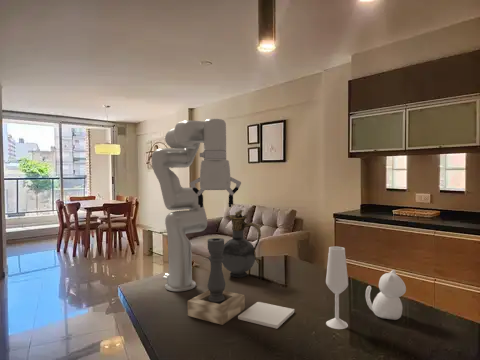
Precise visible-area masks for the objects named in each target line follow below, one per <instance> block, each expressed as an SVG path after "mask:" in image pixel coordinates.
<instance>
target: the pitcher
mask: <svg viewBox="0 0 480 360" xmlns="http://www.w3.org/2000/svg"><path fill="white" fill-rule="evenodd" d="M243 212H244V210H243V209H240V210H239V211H235V213H234V214H230V215H226V216H225V218H229V219H230V220H231V224H232V227H231V230H232V238H231V239H229V240H228V241H226V242H224V251H223V253H222V256H223V257H224V259H223V260H222V266H223V267H224V268H225V269H226V271H229V272H230V273H229V276H230V277H232V278H238V279H239V278H241V279H242V278H245V277H247V275H248V273H247V272H248V271H249V270H251V268H252V267H253V266H254V263H255V262H256V263H257V264H259V263H260V262H259V259H258V258H257V256H256V255H257V254H256V250H257V247H258V245H259V243H260V239H261V236H262V232H261V228H260V226H259V225H258V224H257V223H255V222H249V223H247V222H246V221H245V220H246V219H247V218H248V216H249V214H244V215H242V213H243ZM249 227H253V228H255V229H256V230H257V241H256V243H255V246H254V245H253V243H252V242H250V241H249V240H247V239H246V238H245V237H244V230H245V228H249Z"/></svg>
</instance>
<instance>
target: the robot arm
mask: <svg viewBox="0 0 480 360" xmlns="http://www.w3.org/2000/svg"><path fill="white" fill-rule="evenodd" d="M164 137H165V138H164V140H165V144H166V145H167V146H168V147H170V148H168V147H166V148H165V147H164V148H157V149H156V150H154V151H152V154H151V166H152V170H153V173H154V175H155V176H156V178H157V181H158V182H159V185H160V186H159V187H160V191H161V195H162V200H163V203H164V206H165V208H166V209H167V210H168V211H171V212H170V213H168V214H167V215H166V216H165V220H164V221H165V223H164V225H165V228H166V229H165V231H166V234H167V250H168V253H167V255H168V257H167V258H168V273H167V272H166V273H165V274H164V276H162V280H165V281H166V282H165V284H164V288H165V289H166V290H168V291H170V292H186V291H191V290H193V289H194V288H196V285H197V284H196V281H195V280H193V275H192V274H193V273H192V271H193V268H192V266H193V265H192V263H193V261H192V259H193V258H192V243H191V240H190V239H189V238H188V237H187V236H186V234H187V235H188V234H192V233H200V232H204V231H205V229H207V226H208V217H207V214H206V209H205V207H204V195H203V193H204V192H205V191H227V193H228V194H229V195H228V208H232V206H233V205H234V195H235V194H236V193H237V192H238V190H239V188H241V187H240V186H241V185H242V182H241V181H239V180H238V179H236V178H234V177H232V176H231V167H230V161H229V160H228V159H227V123H226V121H225V120H224V119H222V118H207V119H206V120H204V121H203V120H182V121H179V122H177V123H176V125H175V126H174V128H172V129H169V130H168V131H167V132H166V134H165V136H164ZM201 144H203V152H199V158H203V159H204V160H201V162H200V170H199V172H200V173H199V177H197V178H196V179H194V180H192V181H190V183H189V186H190V187H183V186H182V185H181V181H180V179H179V177H178V176H177V174H176V173H175V172H174V171H172V170H171V169H176V168H177V169H178V168H179V169H180V168H182V169H183V168H189V167H190V166H192V164H193V162H194V160H195V158H196V155H197V153H198V151H199V149H200V146H201ZM231 182H232V183H234V184H235V187H234V188H233V189H232V188H231V184H232V183H231ZM198 183H199V187H200V188H199V189H198V187H197V186H196V184H198Z"/></svg>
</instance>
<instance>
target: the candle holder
mask: <svg viewBox="0 0 480 360" xmlns="http://www.w3.org/2000/svg"><path fill="white" fill-rule="evenodd" d="M224 245H225V238H220V237H211V238H208V239H207V250H208V253H209V256H208V260H209V261H210V272H209V277H208V281H207V290H209V291H210V294H211V295H210V297H209V299H208V300H209V302H213V303H217V304H221V303H223V302H224V300H225V297H224V296H223V291H225V289H226V281H225V277H224V273H223V263H222V260H223V259H224V257H223V256H222V253H223V251H224Z"/></svg>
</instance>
